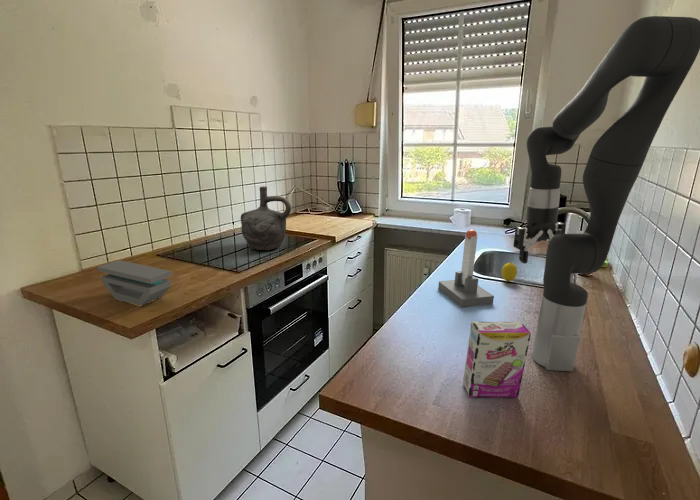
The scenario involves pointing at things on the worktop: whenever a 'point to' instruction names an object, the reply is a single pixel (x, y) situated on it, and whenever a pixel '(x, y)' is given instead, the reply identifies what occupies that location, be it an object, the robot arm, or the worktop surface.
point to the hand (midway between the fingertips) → (537, 260)
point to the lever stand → (465, 292)
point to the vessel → (265, 223)
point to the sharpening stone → (134, 281)
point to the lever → (468, 255)
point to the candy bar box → (495, 359)
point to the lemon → (509, 271)
